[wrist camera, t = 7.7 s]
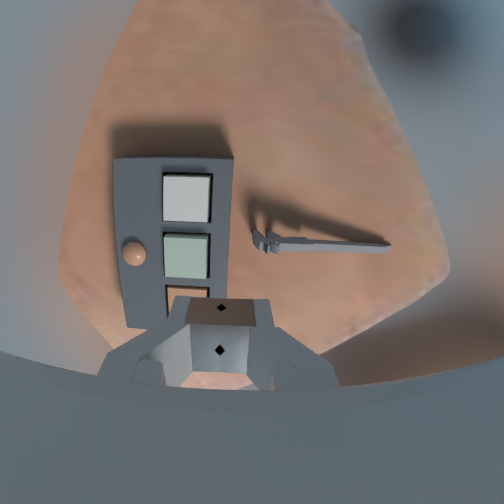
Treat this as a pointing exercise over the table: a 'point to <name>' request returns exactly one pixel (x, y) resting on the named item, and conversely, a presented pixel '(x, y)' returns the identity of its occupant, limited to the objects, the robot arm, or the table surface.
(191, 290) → the terracotta button
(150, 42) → the table surface
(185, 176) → the white button
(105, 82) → the table surface
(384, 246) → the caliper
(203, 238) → the sage button
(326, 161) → the table surface
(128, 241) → the button panel
